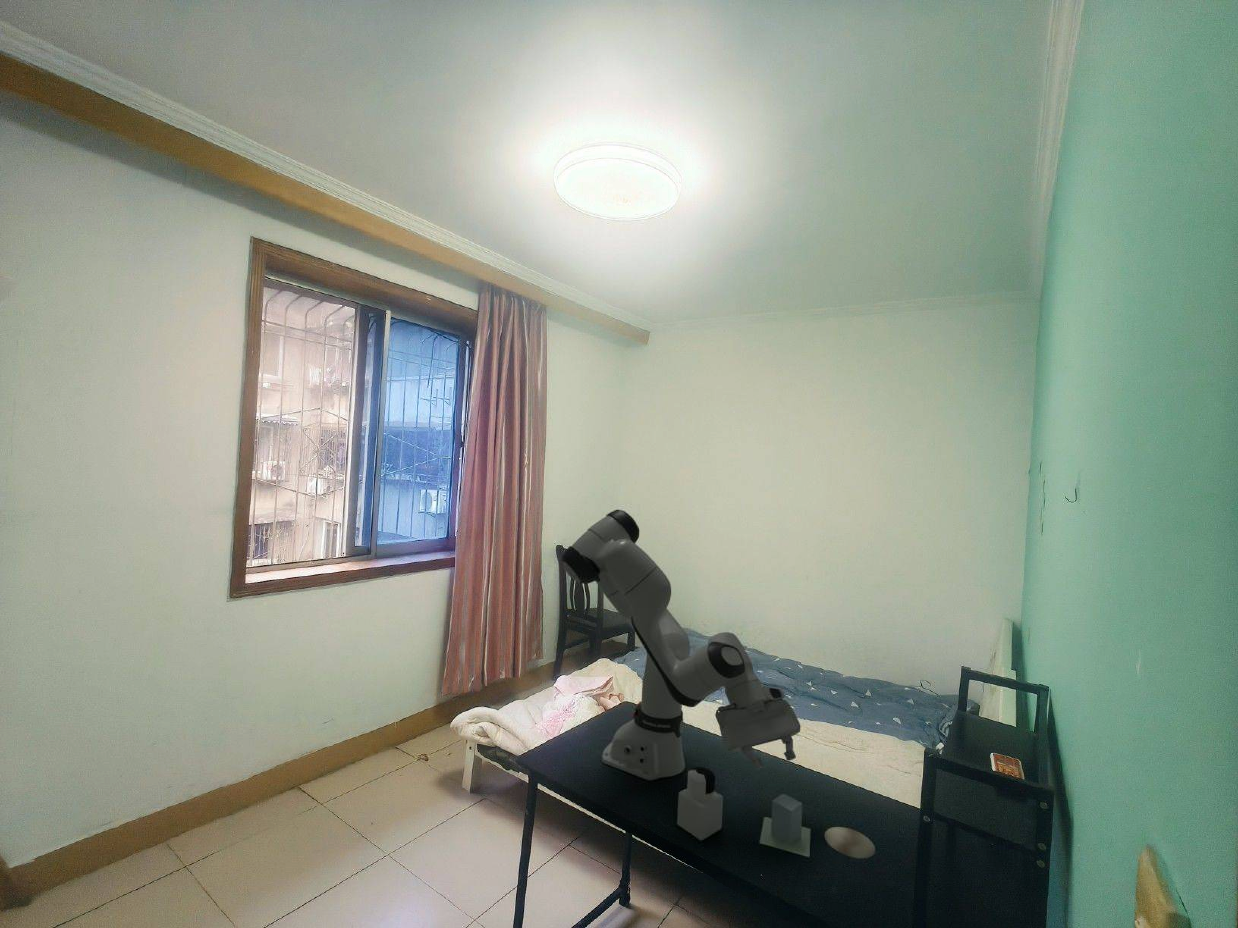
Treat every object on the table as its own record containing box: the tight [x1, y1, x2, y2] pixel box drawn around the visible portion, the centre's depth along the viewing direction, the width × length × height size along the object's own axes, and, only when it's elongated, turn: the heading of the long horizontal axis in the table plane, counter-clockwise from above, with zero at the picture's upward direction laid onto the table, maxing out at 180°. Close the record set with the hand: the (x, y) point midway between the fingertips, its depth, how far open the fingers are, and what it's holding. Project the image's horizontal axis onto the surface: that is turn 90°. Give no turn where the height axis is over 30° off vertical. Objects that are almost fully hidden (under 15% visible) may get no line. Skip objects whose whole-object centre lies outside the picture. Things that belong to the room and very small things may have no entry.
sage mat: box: [759, 816, 811, 858], centre depth 116 cm, size 10×10×1 cm
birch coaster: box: [824, 826, 876, 859], centre depth 115 cm, size 10×10×1 cm
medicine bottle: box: [676, 766, 724, 841], centre depth 118 cm, size 7×7×12 cm
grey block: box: [771, 793, 803, 845], centre depth 116 cm, size 5×5×7 cm
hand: (776, 763), depth 116 cm, fingers open, 8 cm apart
